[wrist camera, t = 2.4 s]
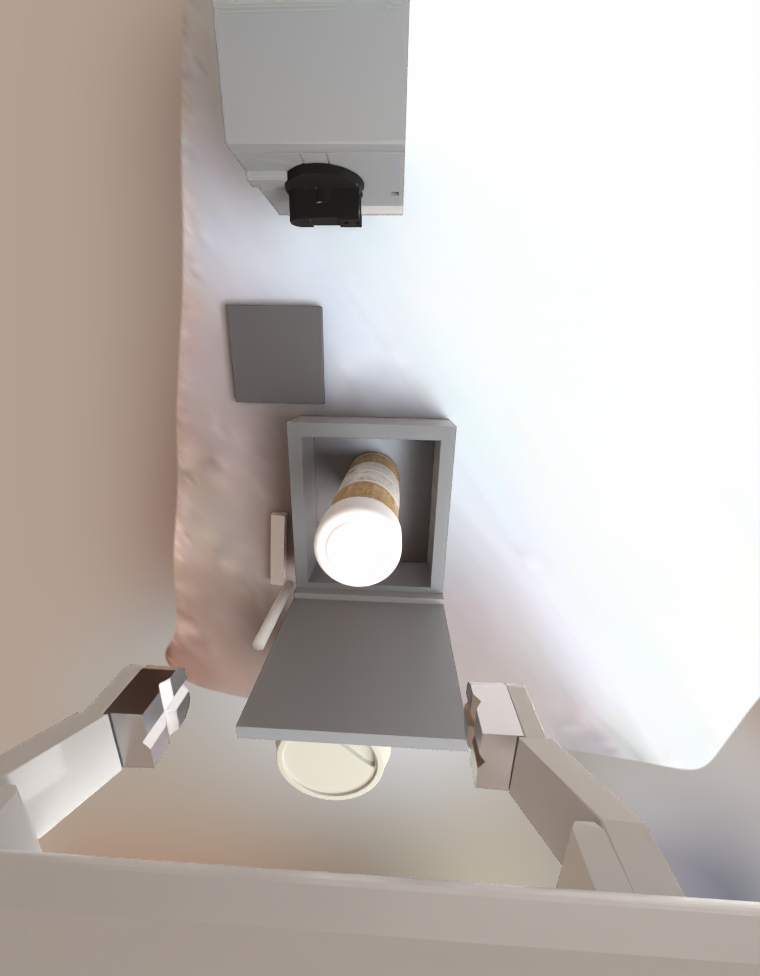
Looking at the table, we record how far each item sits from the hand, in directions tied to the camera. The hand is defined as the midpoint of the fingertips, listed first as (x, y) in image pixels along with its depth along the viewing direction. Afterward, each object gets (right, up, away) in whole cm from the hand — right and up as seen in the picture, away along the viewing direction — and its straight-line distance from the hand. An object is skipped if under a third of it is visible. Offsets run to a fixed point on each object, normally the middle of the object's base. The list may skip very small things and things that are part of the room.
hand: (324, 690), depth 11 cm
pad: (-6, +16, +18) cm, 25 cm away
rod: (-8, +1, +24) cm, 25 cm away
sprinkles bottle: (+1, +7, +21) cm, 22 cm away
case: (+1, +5, +21) cm, 22 cm away
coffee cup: (-1, -9, +26) cm, 28 cm away
